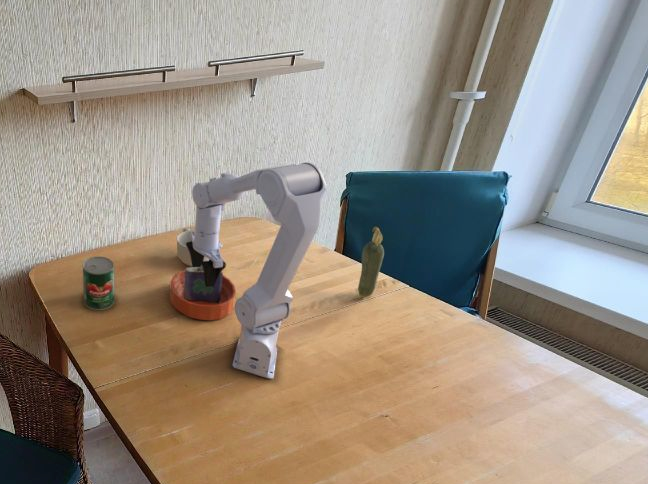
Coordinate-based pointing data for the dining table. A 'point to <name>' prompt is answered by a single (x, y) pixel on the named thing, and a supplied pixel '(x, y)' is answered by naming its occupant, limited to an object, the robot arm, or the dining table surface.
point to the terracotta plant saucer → (202, 308)
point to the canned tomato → (98, 283)
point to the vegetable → (371, 264)
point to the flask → (200, 286)
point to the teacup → (185, 247)
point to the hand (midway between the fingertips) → (203, 276)
